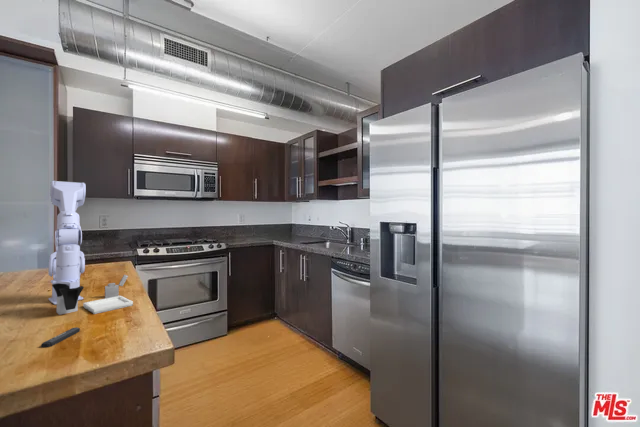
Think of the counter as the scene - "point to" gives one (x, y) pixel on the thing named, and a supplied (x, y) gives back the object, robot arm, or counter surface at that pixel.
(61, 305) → the plug
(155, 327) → the counter surface
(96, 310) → the dish
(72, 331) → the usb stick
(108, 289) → the lighter
